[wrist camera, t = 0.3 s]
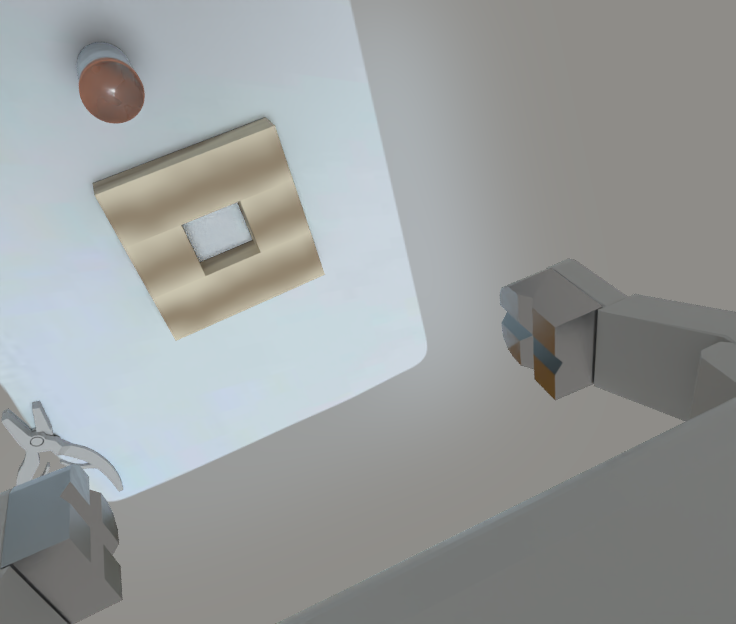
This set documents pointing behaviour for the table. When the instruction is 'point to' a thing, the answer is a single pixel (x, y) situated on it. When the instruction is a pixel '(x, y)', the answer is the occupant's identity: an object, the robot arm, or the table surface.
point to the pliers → (51, 447)
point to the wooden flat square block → (198, 198)
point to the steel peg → (109, 83)
